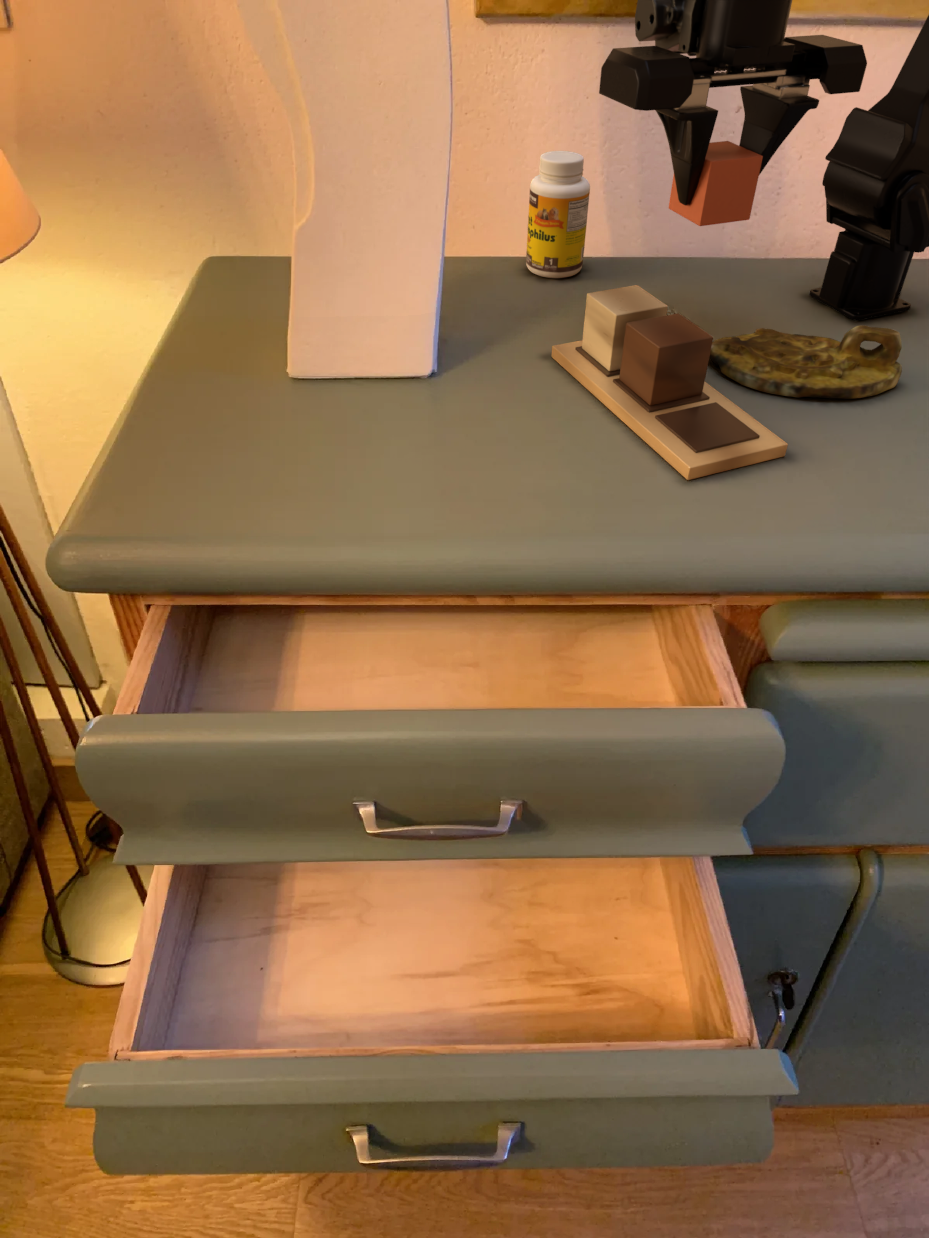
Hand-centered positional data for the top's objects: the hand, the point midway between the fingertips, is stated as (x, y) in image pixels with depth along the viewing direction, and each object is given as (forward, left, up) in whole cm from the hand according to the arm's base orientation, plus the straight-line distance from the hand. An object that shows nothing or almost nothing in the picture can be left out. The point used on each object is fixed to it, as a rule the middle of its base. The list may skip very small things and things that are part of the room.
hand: (711, 200), depth 68 cm
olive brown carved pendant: (-5, +9, -11) cm, 15 cm away
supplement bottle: (+3, -18, -11) cm, 22 cm away
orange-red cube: (0, 0, -1) cm, 1 cm away
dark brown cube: (+8, +9, -10) cm, 16 cm away
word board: (+8, +9, -11) cm, 16 cm away
